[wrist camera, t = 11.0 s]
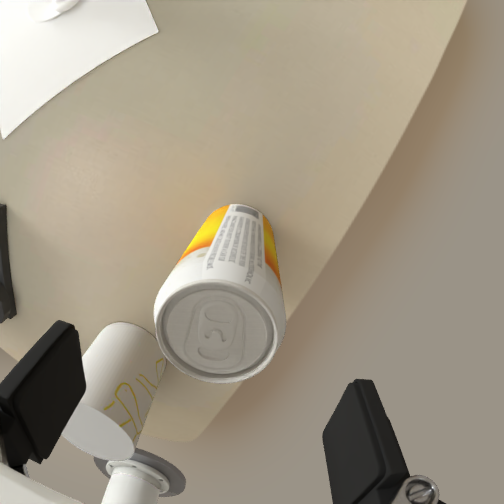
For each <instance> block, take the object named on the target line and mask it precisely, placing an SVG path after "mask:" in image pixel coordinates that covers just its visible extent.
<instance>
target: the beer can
mask: <svg viewBox="0 0 504 504" xmlns="http://www.w3.org/2000/svg"><path fill="white" fill-rule="evenodd" d="M154 322H155V331H156V337H157V341H158V344H159V346H160V348H161V350H162V352H163V354H164V355H165V356H166V358H167V359H168V360H169V361H170V362H171V363H172V364H173V365H174V366H175V367H176V368H177V369H179V370H180V371H182V372H183V373H185V374H187V375H189V376H190V377H193V378H195V379H198V380H201V381H205V382H209V383H219V384H226V383H235V382H239V381H243V380H246V379H248V378H251V377H253V376H254V375H256V374H258V373H259V372H261V371H262V370H263V369H264V368H265V367H266V366H267V365H268V364H269V363H270V361H271V360H272V358H273V357H274V354H275V352H276V351H277V350H278V348H279V346H280V345H281V343H282V340H283V338H284V335H285V330H286V314H285V307H284V301H283V294H282V287H281V281H280V274H279V268H278V261H277V255H276V249H275V242H274V236H273V231H272V228H271V225H270V223H269V222H268V220H267V219H266V218H265V216H264V215H263V214H261V213H260V212H259V211H258V210H256V209H254V208H252V207H250V206H246V205H241V204H232V205H227V206H224V207H221V208H219V209H217V210H216V211H214V212H213V213H212V214H211V215H210V216H209V217H208V218H207V220H206V221H205V223H204V224H203V226H202V227H201V228H200V230H199V231H198V233H197V234H196V236H195V237H194V239H193V240H192V242H191V243H190V245H189V246H188V248H187V249H186V251H185V252H184V254H183V255H182V257H181V258H180V260H179V261H178V263H177V264H176V266H175V267H174V269H173V270H172V272H171V273H170V275H169V277H168V278H167V280H166V281H165V283H164V284H163V286H162V287H161V289H160V291H159V293H158V295H157V298H156V301H155V306H154Z"/></svg>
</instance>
